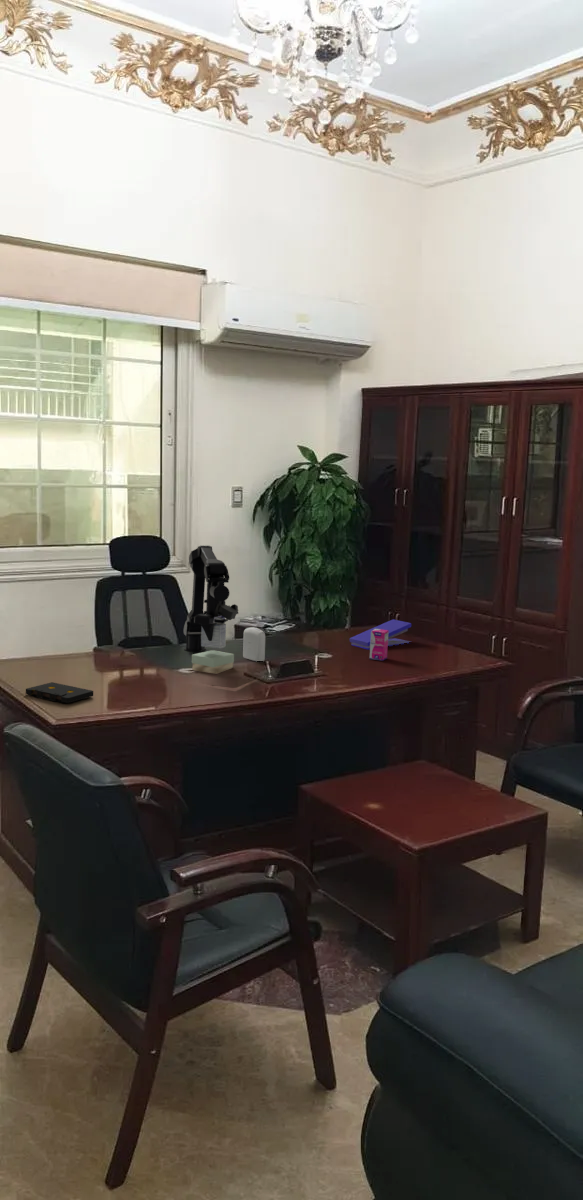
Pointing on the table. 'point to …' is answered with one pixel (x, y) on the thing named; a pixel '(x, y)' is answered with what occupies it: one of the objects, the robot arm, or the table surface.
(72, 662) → the table surface
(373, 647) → the supplement box
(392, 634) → the stapler
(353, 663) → the table surface
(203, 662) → the tower top block
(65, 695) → the cassette tape
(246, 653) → the photo printer
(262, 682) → the table surface
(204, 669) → the tower base block
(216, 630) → the medicine box
